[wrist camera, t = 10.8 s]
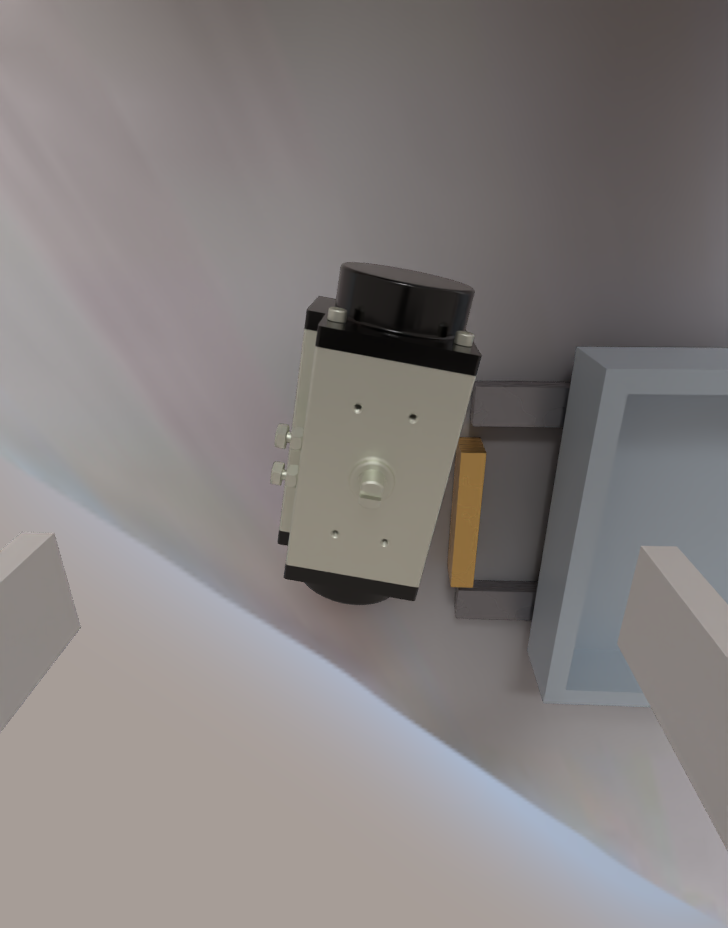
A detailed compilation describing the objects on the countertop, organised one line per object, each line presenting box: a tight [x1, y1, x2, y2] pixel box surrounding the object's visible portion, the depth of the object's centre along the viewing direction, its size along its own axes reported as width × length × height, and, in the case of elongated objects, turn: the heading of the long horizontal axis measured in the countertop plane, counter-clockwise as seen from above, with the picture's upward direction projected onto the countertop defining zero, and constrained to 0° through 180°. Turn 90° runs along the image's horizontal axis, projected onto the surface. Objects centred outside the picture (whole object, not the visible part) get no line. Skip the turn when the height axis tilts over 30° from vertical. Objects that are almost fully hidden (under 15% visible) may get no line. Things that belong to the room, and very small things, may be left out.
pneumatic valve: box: [270, 262, 482, 605], centre depth 21 cm, size 6×12×12 cm, turn 170°
